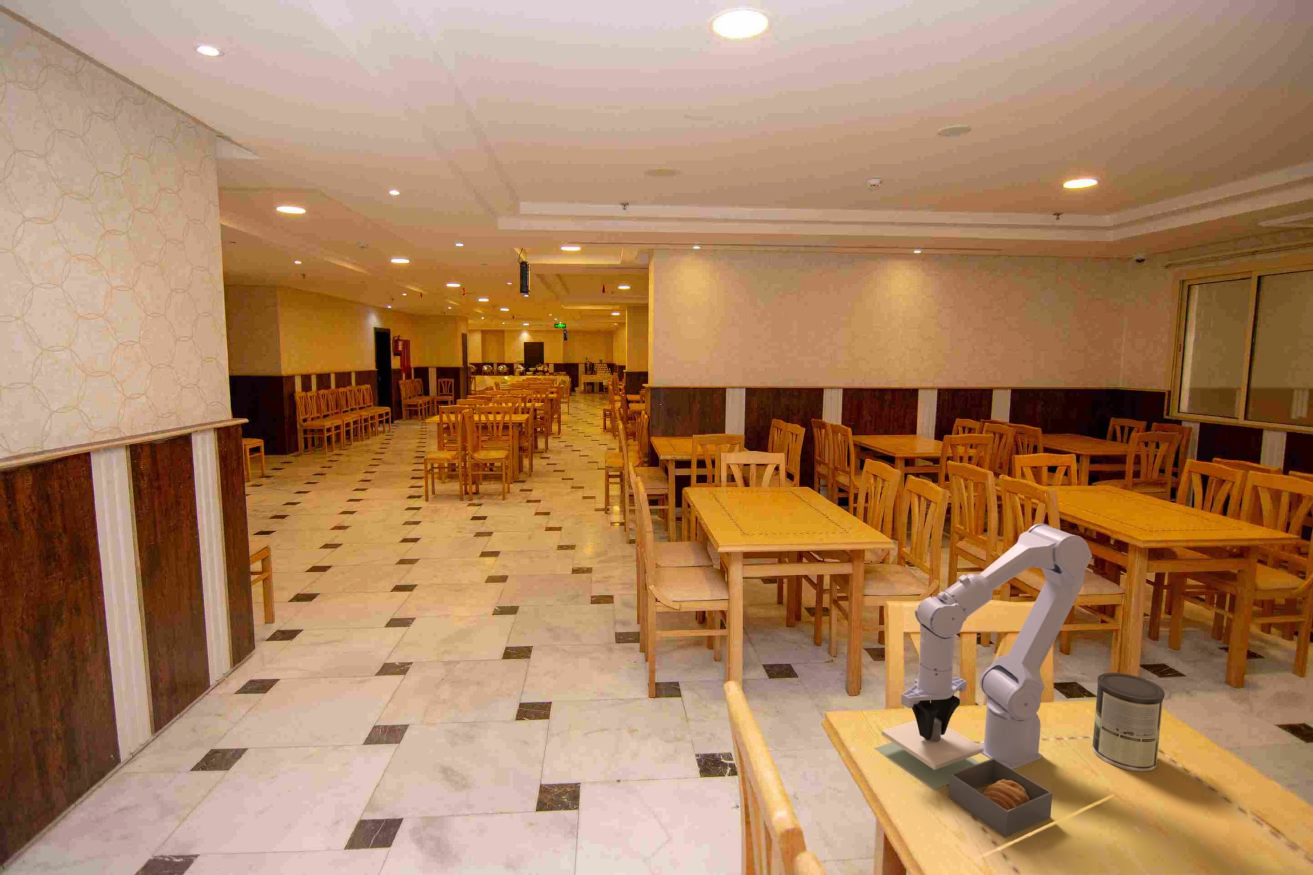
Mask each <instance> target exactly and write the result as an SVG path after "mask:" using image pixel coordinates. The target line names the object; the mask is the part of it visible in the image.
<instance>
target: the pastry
mask: <svg viewBox="0 0 1313 875" xmlns="http://www.w3.org/2000/svg"><path fill="white" fill-rule="evenodd" d="M981 794H983V795H984V796H986V797H987V798H989V799H990V800H992V801H994V802H995V803H997V804H998V805H1000V806H1001V807H1003V808H1004V809H1006V810H1010V809H1012V808H1014V807H1017V806H1019V805H1021V804H1024V803H1026V802H1028V801H1030V798H1029V796H1028V795H1027V793H1026V790H1025V789H1024V788H1023V787H1022V786H1021V785H1019V784H1018V783H1016V782H1014V781H1011V780H1008V781H1007V780H1005V779H1002V780H1000V781H997V782H996V783H991V784H989V785H988V786H986V788H985V789H984V790H983V792H981Z"/></svg>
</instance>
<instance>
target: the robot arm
mask: <svg viewBox="0 0 1313 875" xmlns="http://www.w3.org/2000/svg"><path fill="white" fill-rule="evenodd" d="M1092 558H1093V555H1092V551H1091V550H1090V547H1089V545H1088V542H1087V541H1086V540H1085V539H1084V538H1083V537H1082V536H1079V535H1075V534H1072V533H1068V532H1066V531H1063V530H1060V529H1058V528H1054V527H1052V526H1050V524H1049V525H1048V524H1046V523H1036V524H1033V525H1032V526H1030V527H1029V529H1028V530H1026V531H1025V532H1022V533H1021V534H1020V535H1019V537H1018V540H1017V542H1016V543H1015V544H1014V545H1013V546H1012V547H1011V548H1009V549H1008V550H1007V551H1006V552H1004V553H1003V554H1002V555H1001V556H1000V557H999V558H997V559H996V560H995V561H994V562H992V563H991V564H990V565H988V567H986V568H985V569H984V570H983V571H982V572H980V573H979V574H978V573H968V574H966V575H965V574H962V575H960V576H959V577H958V578H957V579H958V581H956V582H955V583H954V584H952V585H950V586H949V587H948V588H946V589H945V590H944V591H940V592H939V593H938V594H937V596H929V597H926V598H924V599H923V600H922V601H921V602H919V605H918V606H917V609H916V610H914V617H915V619H916V621H917V622H918V623H919V632H920V635H919V652H918V653H919V654H918V655H919V656H918V673H917V674H918V677H917V678H914V685H912V686H911V687H910V688H909V689H908V690H906V691H905V692H902V693H901V696H900V698H901V699H900V704H901V705H903V706H904V707H906V708H908V709H911V710H912V712H913V714H914V717H915V720H916V721H917V725H918V729H919V734H920V736H922V737H924V738H925V739H927V740H930V739H931V737H932V732H933V724H934V720H935V718H938V719H940V720H941V722H942V725H941V735H944V734H945V732H946V729H947V727H948V726H949V723H950V720H951V718H952V717H953V714H954V713H955V711H956V709H957V708H958V707H959V706H960V705H961V699H960V698H959V697H958V696H956V695H955V694H956V692H962V693H963V692H967V680H966V679H963V678H961V677H958V676H956V677H953V672H954V670H953V668H954V653H955V652H954V648H955V636H956V635H958V634H959V633H960V632H961V630H962V628H963V625H964V623H965V622H966V621H967V619H968V617H969V616H971V615H972V614H973V613H975V612H976V611H978V610H979V609H981V608H983V606H984V605H986V604H987V603H989V602H990V601H992V599H993V593H994V590H995V589H997V588H998V587H1000V586H1002V585H1004V584H1005V583H1006V582H1008V581H1010V580H1011V579H1012V580H1013V578H1015V577H1017V576H1018V575H1020V574H1021V573H1023V572H1025V571H1026V570H1028V569H1030V568H1037V569H1041V571H1042V573H1043V575H1044V579H1045V582H1044V584H1043V586H1042V587H1041V590H1040V591H1039V593H1038V596H1037V597H1036V599H1035V602H1034V604H1033V605H1032V608H1031V609H1030V612H1029V613H1028V615H1027V617H1026V620H1025V621H1024V623H1023V625H1022V627H1021V629H1020V630H1019V633H1018V634H1017V637H1016V639H1015V640H1014V642H1013V645H1012V646H1011V648H1010V650H1009V652H1008V654H1004V655H1001V656H997V657H996V658H995V659H994V661H993V663H991V665H990V666H989V667H988V668H986V669H985V670H984V671H983V672H982V674H981V677H980V679H979V686H980V687H979V688H980V689H981V691H982V692H983V694H984V695H985V702H986V711H985V712H986V713H985V725H984V726H985V729H984V742H981V743H978V745H979V746H981V747H983V748H984V752H983V753H981V755H984V756H985V757H987V758H988V759H992V758H994V759H996V760H998V761H1000V762H1001V763H1003V764H1005V765H1006V766H1008V767H1010V768H1011V769H1013V770H1015V769H1017V768H1019V767H1022V766H1024V765H1027V764H1030V763H1033V762H1035V761H1037V760H1040V759H1043V758H1044V756H1043V754H1041V753H1040V752H1039V751H1040V736H1041V719H1040V718H1039V715H1038V712H1039V709H1040V707H1041V701H1042V699H1041V698H1042V694H1043V692H1044V690H1045V684H1044V682H1043V678H1042V676H1041V672H1040V669H1041V667H1042V666H1043V663H1044V662H1045V660H1046V658H1047V656H1048V654H1049V652H1050V650H1051V648H1052V646H1053V644H1054V643H1055V641H1056V639H1057V637H1058V634H1059V633H1060V631H1061V629H1062V627H1063V625H1064V623H1065V621H1066V619H1067V617H1068V615H1069V613H1070V612H1071V610H1072V608H1073V606H1074V604H1075V602H1076V600H1077V598H1078V596H1079V594H1080V592H1081V590H1082V588H1083V586H1084V581H1085V572H1086V570H1087V567H1088V566H1089V564H1090V562H1091V560H1092Z"/></svg>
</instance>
